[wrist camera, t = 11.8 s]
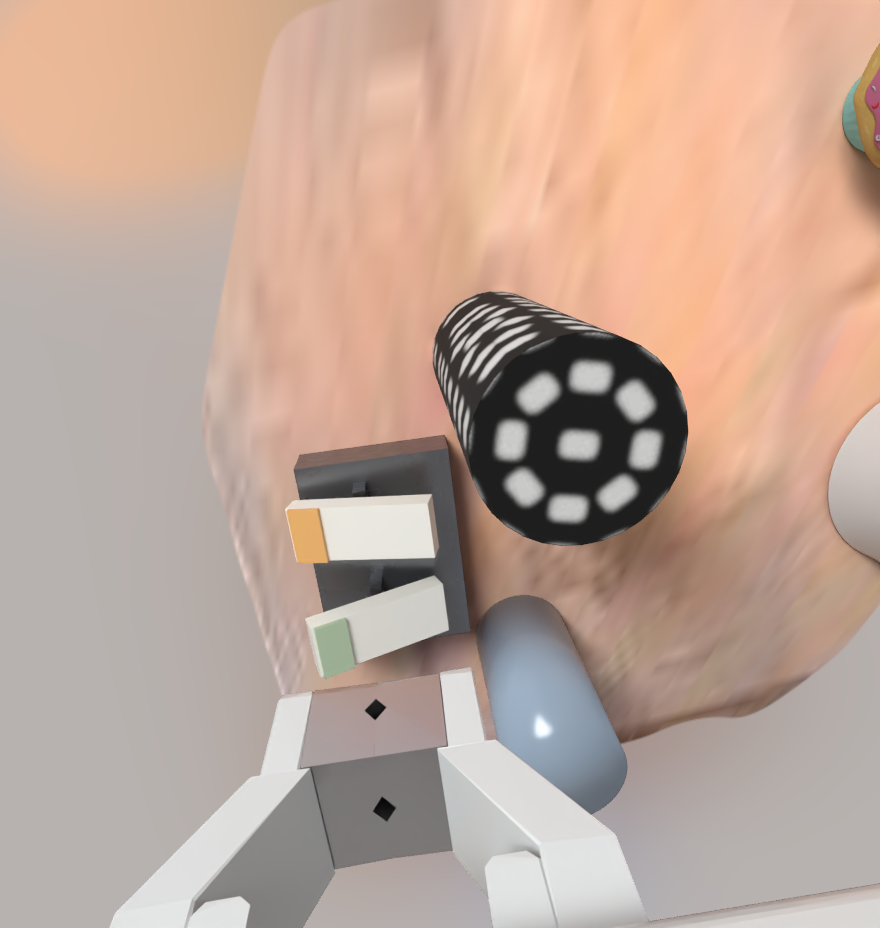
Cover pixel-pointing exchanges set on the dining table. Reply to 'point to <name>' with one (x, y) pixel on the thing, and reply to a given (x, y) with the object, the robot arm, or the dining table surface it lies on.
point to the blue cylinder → (548, 701)
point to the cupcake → (865, 111)
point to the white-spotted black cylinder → (558, 418)
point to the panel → (389, 474)
